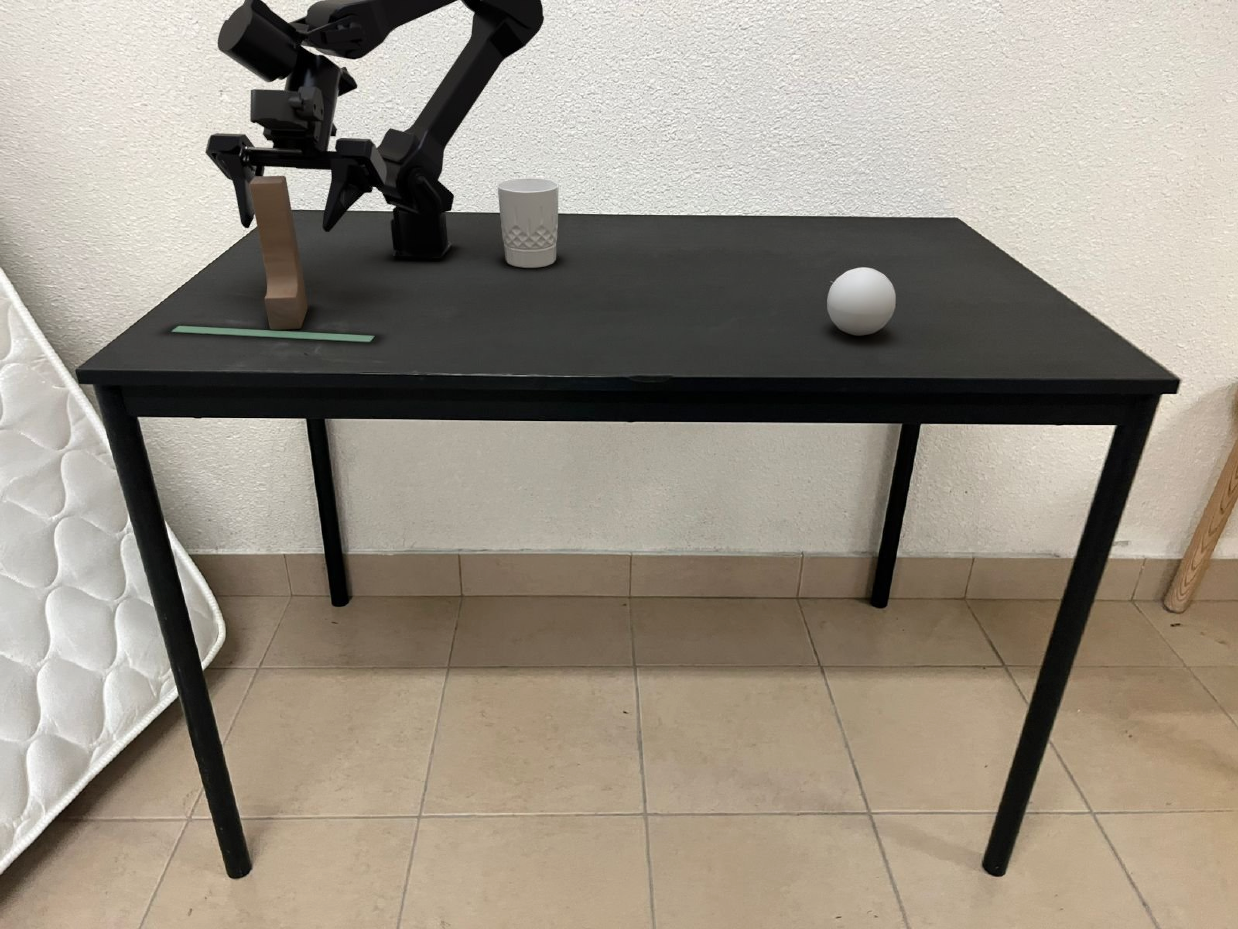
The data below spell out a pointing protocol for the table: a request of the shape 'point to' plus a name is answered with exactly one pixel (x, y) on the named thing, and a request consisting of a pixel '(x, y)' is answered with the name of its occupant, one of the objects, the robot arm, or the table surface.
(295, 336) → the tape strip
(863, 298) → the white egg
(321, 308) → the table surface
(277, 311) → the wooden block
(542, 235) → the white cup
